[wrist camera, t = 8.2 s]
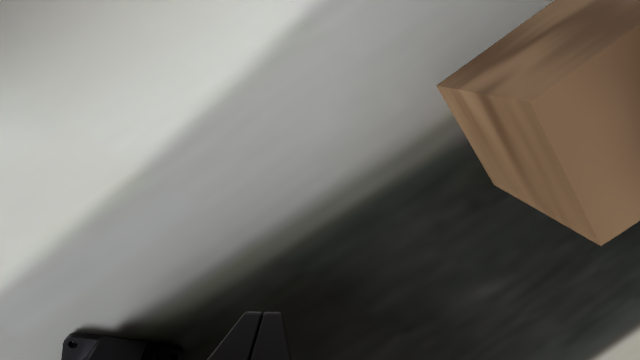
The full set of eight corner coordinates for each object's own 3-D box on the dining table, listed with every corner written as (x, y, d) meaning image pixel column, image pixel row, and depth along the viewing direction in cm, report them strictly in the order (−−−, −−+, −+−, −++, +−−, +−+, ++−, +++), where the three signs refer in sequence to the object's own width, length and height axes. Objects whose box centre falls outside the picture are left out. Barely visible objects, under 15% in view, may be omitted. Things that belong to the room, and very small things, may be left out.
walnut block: (493, 184, 23) (601, 246, 16) (435, 85, 21) (529, 102, 14) (625, 92, 23) (805, 111, 15) (580, -19, 20) (764, -63, 13)
